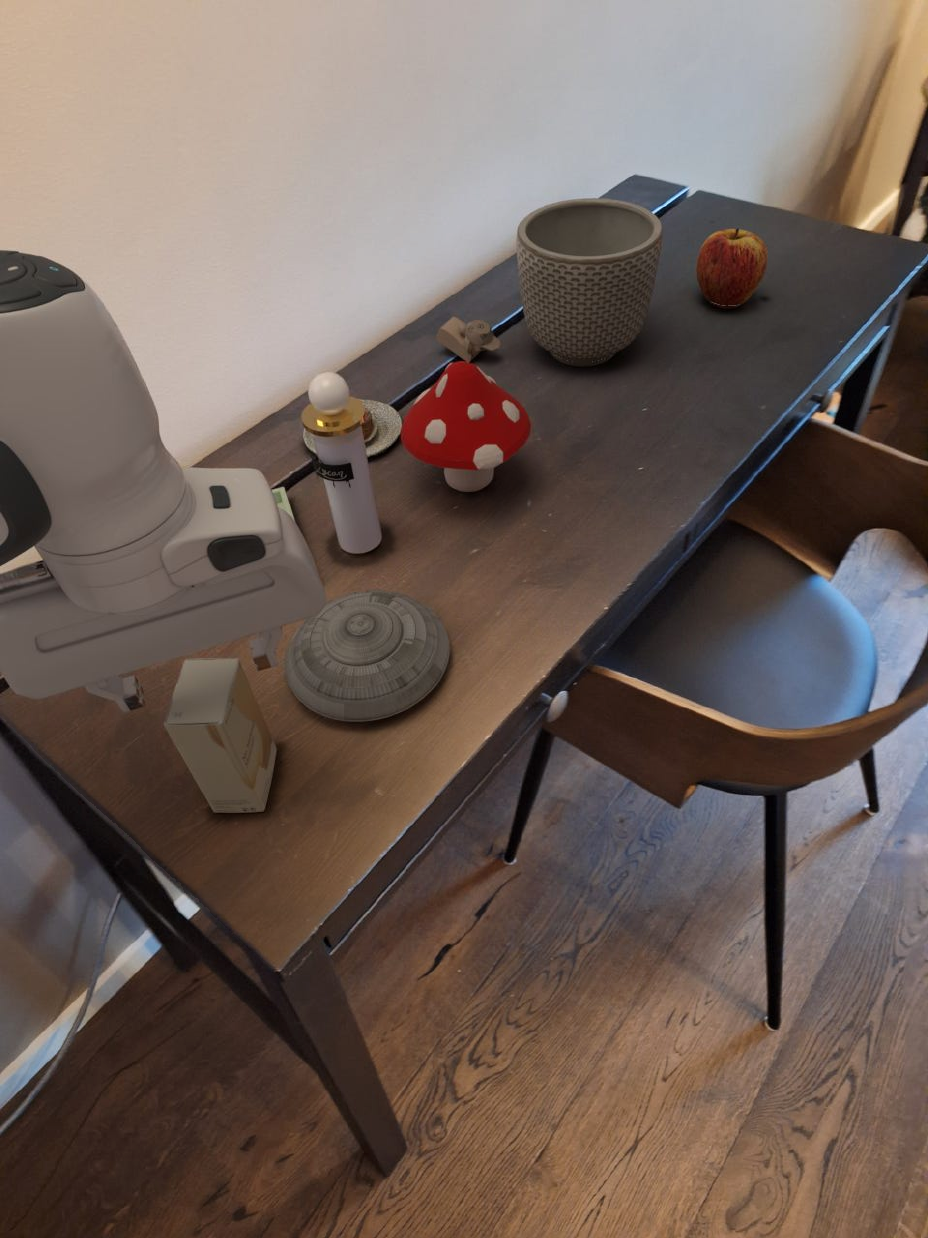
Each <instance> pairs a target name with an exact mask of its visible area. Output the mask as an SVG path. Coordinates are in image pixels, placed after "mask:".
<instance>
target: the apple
mask: <svg viewBox="0 0 928 1238" xmlns="http://www.w3.org/2000/svg"><path fill="white" fill-rule="evenodd" d="M696 259H697V260H696V270H695V271H696V279H697V283H698V287H699V289H700V292H701V293H702V295H703V296H704V298H705V299H706V300H707V299H708V300H709V301H708V300H707V301H708V302H709V303H710V304H711V305H713V306H715V307H716V308H721V309H723V310H731V309H735V308H738V307H740V306H742V305H743V304H744V303H746V302H747V301H748V300H749V299H751V297H752V296H753V295H754V293H755V291H756V290H757V289H758V287H759V286H760V284H761V282H762V280H763V278H764V276H765V274H766V270H767V267H768V249H767V246H766V244H765V243H764V241H763V240H762V239H761V238H760V237H759V236H758V235H757V234H755V233H753V232H752V231H748V230H746V229H740V228H726V229H720V230H717V231H715V232H713V233H712V234H710V235H708V237H707V238H706V239H705V240H704V242H703V243H702V245H701V247H700V249H699V251H698V256H697V258H696ZM746 300H747V301H746ZM710 301H711V302H714V303H717V304H720V305H717V304H714V303H711V302H710ZM745 301H746V302H745ZM743 302H744V303H743ZM741 303H743V304H741ZM738 304H741V305H738ZM721 305H726V306H721ZM728 305H737V306H728Z"/></svg>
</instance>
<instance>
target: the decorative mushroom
mask: <svg viewBox="0 0 928 1238" xmlns="http://www.w3.org/2000/svg"><path fill="white" fill-rule="evenodd" d="M445 367H446V368H445V369H444V371H443V372H442V373H441V375H440V377H439V378H438V379H437V380H436V382H435V383H434V384H433V386H431V387H430V388H427V389H425V390H424V391H423V392H421V394H420V395H418V397H417V398H416V399H415V401H414V403H413V404H412V407H411V408H410V409H409V410H408V412H407V413H406V415H405V416H404V419H403V421H402V428H401V433H400V439H401V440H400V441H401V443H402V444H403V446H404V448H405V450H406V451H407V452H408V453H410V455H412V456H413V457H414V458H416V459H418V460H419V461H421V462H423V463H425V464H427V465H431V466H434V467H438V468H440V469H441V468H443V474H444V478H445V479H444V480H445V482H446V483H447V485H448V486H450V488H453V489H454V490H456V491H458V492H463V493H473V492H474V493H475V492H477V491H480V490H482V489H484V488H485V487H487V486H488V485H490V483H491V482H492V480H493V479H494V470H495V468H496V467H498V466H499V465H501V464H503V463H506V462H507V461H509V459H511V457H513V456H514V455H515V454H516V453H518V451H519V450H520V449H521V448H522V447H524V446H525V444H526V442H527V441H528V439H529V437H530V435H531V431H532V423H531V419H530V417H529V414H528V412H527V411H526V409H525V407H524V406H523V405H522V403H520V401H518V400H517V399H516V398H515V397H514V396H513V395H511V394H510V393H508V392H507V391H505V390H504V389H503V388H502V387H500V386H499V385H498V384H497V383H496V381H495V380H494V378H493V377H491V376H489V375H487V374H486V373H485V372H484V371H483V370H482V368H480V367H479V366H477V365H476V364H474V363H471V362H467V361H465V360H459V361H456V362H455V361H454V362H450V363H449V364H448V365H447V366H445Z"/></svg>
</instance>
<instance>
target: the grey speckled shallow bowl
mask: <svg viewBox="0 0 928 1238" xmlns="http://www.w3.org/2000/svg"><path fill="white" fill-rule="evenodd" d="M357 399H358V400H360V401H361V402H362V403H363V405H364V407H365V412H366V417H365V420H364V422H363V423H362V424H361V427H362V432H363V438H364V443H365V448H366V454H367V458H370V457H371V456H373V457H376V456H378V455H379V454H383V453H385V452H386V451H387V450H388V448H389V447H392V446H393V445H394V444H395V443H397V440H398V438H399V436H401V428H402V425H403V420H402V417H401V415H400V413H399V412H398V411H397V410H396V409H395V408H394V407H392V406H391V405H389V404H387V403H384V402H380V401H378V400H373V399H360V398H357ZM302 436H303V437H302V438H303V440H304V444H305V445H306V447H307V448H308V449H309V451H310V452H312V454H313V455H315V456H316V455H317V451H316V447H315V443H314V439H313V434H311V433H309V432H308V431H307V430H306V429H305V428H304V427H303V433H302ZM309 447H310V448H309ZM314 452H315V453H314ZM317 456H318V455H317ZM317 456H316V457H317Z"/></svg>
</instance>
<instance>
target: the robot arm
mask: <svg viewBox="0 0 928 1238" xmlns="http://www.w3.org/2000/svg"><path fill="white" fill-rule="evenodd" d="M160 433H161V432H160V421H159V413H158V410H157V407H156V405H155V402H154V400H153V397H152V394H151V392H150V390H149V388H148V386H147V383H146V381H145V379H144V377H143V375H142V373H141V370H140V368H139V366H138V364H137V361H136V359H135V358H134V356H133V354H132V351H131V349H130V348H129V346H128V343H127V342H126V340H125V337H124V336H123V333H122V332H121V331H120V328H119V326H118V325H117V323H116V322H115V319H114V318H113V316H112V315H111V313H110V311H109V309H108V308H107V307H106V305H105V304H104V302H103V301H102V299H101V298H100V296H99V295H98V294H97V293H96V292H95V290H94V289H93V288H92V287H91V286H90V285H89V284H88V283H87V282H86V281H85V280H84V279H83V278H82V277H81V276H79V275H78V274H77V273H76V272H75V271H73V270H71V269H70V268H68V267H67V266H64V265H63V264H61V263H59V262H56V261H54V260H52V259H49V258H48V257H46V256H42V255H36V254H31V253H25V252H19V251H18V250H8V249H7V250H6V249H5V250H4V249H0V567H2V566H4V565H5V564H8V563H9V562H11V561H12V560H14V559H16V558H17V557H19V556H21V555H22V554H24V553H26V552H27V551H29V550H31V549H32V548H33V547H34V549H35V550H36V551H37V553H38V555H39V556H40V558H41V560H37V561H34V562H30V563H27V564H24V565H20V566H18V567H15V568H12V569H9V570H7V571H5V572H0V673H1V675H2V677H3V679H4V680H5V682H6V683H7V684H8V686H9V688H10V689H11V690H12V691H13V693H14V694H16V695H18V696H20V697H23V698H27V699H31V700H35V701H37V700H43V699H47V698H50V697H52V696H57V695H59V694H60V695H61V694H63V693H65V692H70V691H72V690H76V689H80V688H82V687H83V689H85V691H86V692H87V693H88V694H90V695H91V694H92V695H94V696H97V697H100V698H103V699H105V700H108V701H111V702H115V703H116V705H117V706H118V707H119V709H120V711H121V712H122V713H123V714H126V713H129V712H131V711H135V710H137V709H142V708H144V707H146V700H145V698H146V697H145V691H144V688H143V686H142V685H141V683H139V679H138V678H137V676H136V675H135V674H134V675H129V676H126V677H122V675H126V674H129V673H132V672H136V671H139V670H142V669H145V668H149V667H152V666H156V665H159V664H162V663H165V662H169V661H172V660H175V659H178V658H181V657H186V656H189V655H191V654H196V653H198V652H202V651H205V650H208V649H211V648H215V647H219V646H221V645H225V644H228V643H232V642H234V641H238V640H242V639H244V638H248V637H251V636H254V635H258V634H259V636H257V637H255V638H251V639H249V640H248V644H249V648H250V650H251V652H250V653H251V657H252V660H253V662H254V665H255V667H256V669H257V672H260V671H265V670H267V669H272V668H274V667H278V666H279V662H278V657H277V653H276V649H277V647H278V645H279V642H280V641H281V639H282V636H283V628H282V627H285V626H288V625H291V624H294V623H298V622H301V621H304V620H305V619H308V618H312V617H315V616H317V615H319V614H320V612H321V611H322V610H323V608H324V606H325V605H326V603H328V597H327V595H326V591H325V588H324V585H323V582H322V578H321V576H320V573H319V570H318V567H317V563H316V562H315V559H314V556H313V554H312V552H311V549H310V547H309V545H308V543H307V541H306V539H305V537H304V535H303V533H302V531H301V529H300V528H299V526H298V525H297V523H296V520H295V519H294V520H295V521H294V520H293V518H292V517H291V516H290V515H289V514H288V513H287V512H286V511H285V510H284V509H282V508H280V507H278V506H277V503H276V500H275V497H274V495H273V492H272V490H273V489H272V488H271V485H270V484H269V482H268V480H267V478H266V476H265V475H264V474H263V472H262V471H260V470H259V469H256V468H250V467H231V468H229V467H227V468H225V467H224V468H222V467H221V468H219V467H217V468H216V467H215V468H214V467H193V466H192V467H190V466H189V467H188V466H181V465H180V464H179V462H178V461H177V460H176V458H175V457H174V456H173V455H172V453H171V452H170V451H169V450H168V449H167V448H166V446H165V444H164V442H163V440H162V437H161V434H160Z"/></svg>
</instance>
